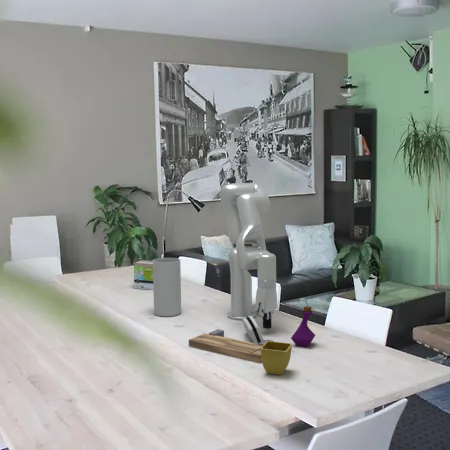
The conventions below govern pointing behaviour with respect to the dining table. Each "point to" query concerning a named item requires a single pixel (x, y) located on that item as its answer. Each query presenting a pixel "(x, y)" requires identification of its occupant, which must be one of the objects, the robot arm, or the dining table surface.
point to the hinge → (253, 330)
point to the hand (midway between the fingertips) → (267, 328)
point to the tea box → (143, 275)
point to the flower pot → (275, 356)
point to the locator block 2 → (264, 342)
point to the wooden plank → (228, 347)
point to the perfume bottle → (304, 329)
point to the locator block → (217, 333)
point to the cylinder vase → (167, 286)
